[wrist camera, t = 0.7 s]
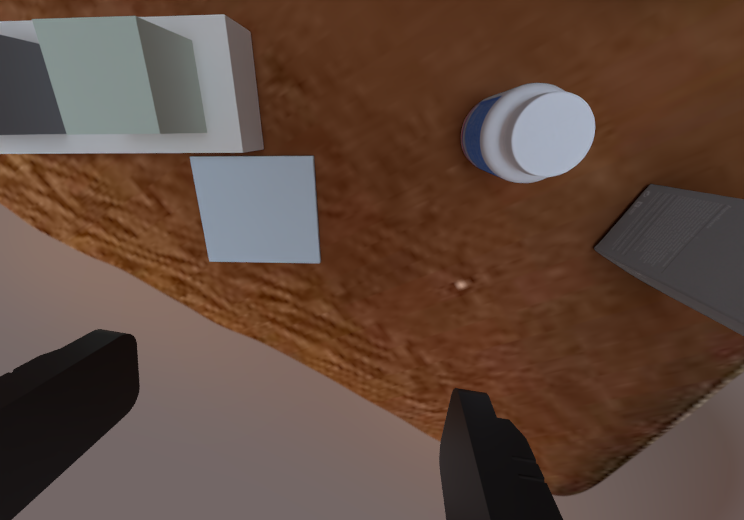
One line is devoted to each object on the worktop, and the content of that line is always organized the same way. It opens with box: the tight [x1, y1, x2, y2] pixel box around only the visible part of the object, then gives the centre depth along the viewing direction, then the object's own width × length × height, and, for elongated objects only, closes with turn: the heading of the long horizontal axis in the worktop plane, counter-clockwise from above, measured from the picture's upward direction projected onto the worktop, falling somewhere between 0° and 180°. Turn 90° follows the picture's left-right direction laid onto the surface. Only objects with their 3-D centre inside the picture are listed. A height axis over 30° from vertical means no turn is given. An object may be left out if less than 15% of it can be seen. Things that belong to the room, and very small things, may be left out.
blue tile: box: [190, 156, 321, 263], centre depth 29 cm, size 9×10×1 cm
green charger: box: [32, 16, 207, 135], centre depth 21 cm, size 5×5×7 cm
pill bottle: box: [461, 83, 595, 183], centre depth 21 cm, size 6×5×10 cm
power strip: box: [0, 14, 264, 154], centre depth 25 cm, size 26×8×5 cm, turn 90°
